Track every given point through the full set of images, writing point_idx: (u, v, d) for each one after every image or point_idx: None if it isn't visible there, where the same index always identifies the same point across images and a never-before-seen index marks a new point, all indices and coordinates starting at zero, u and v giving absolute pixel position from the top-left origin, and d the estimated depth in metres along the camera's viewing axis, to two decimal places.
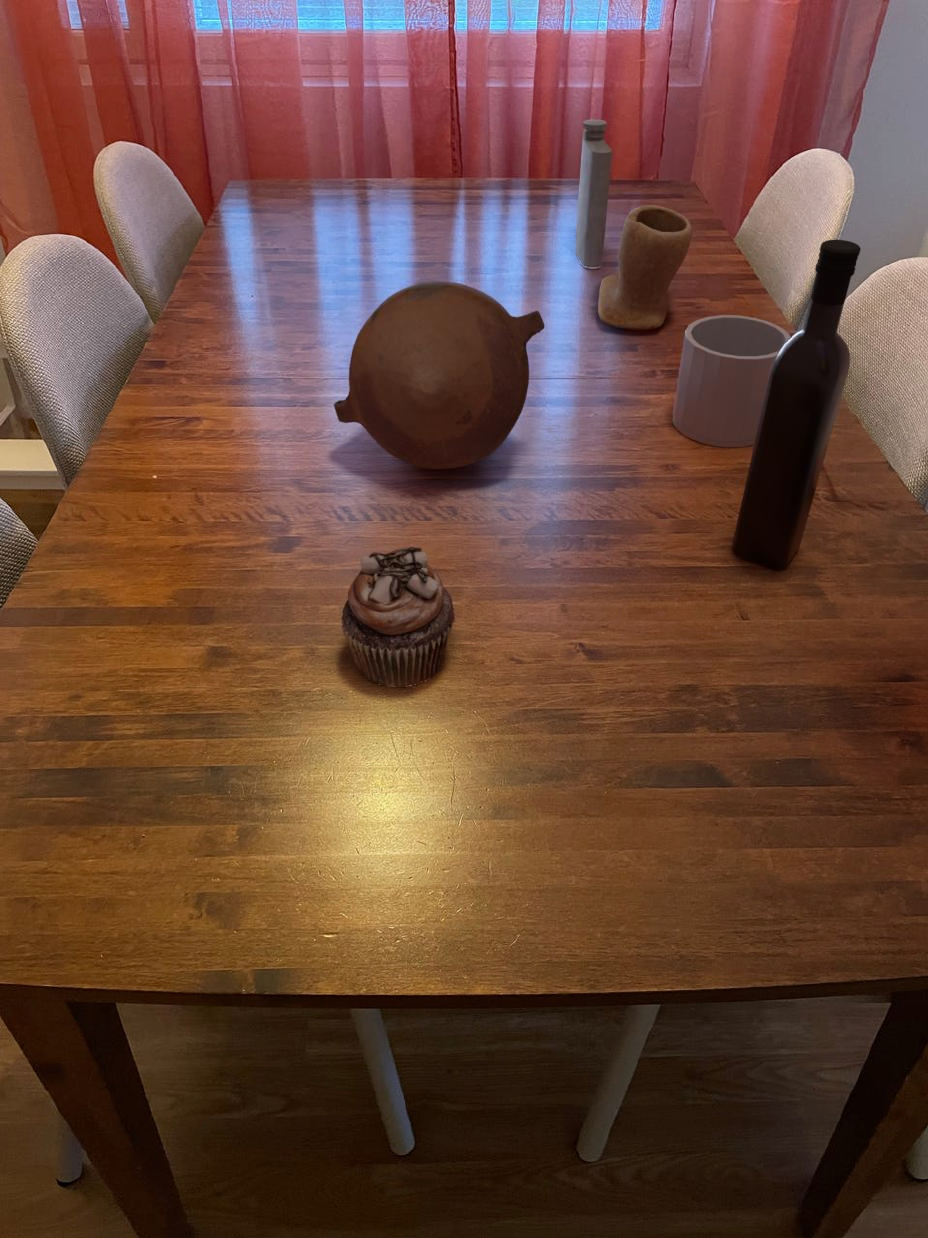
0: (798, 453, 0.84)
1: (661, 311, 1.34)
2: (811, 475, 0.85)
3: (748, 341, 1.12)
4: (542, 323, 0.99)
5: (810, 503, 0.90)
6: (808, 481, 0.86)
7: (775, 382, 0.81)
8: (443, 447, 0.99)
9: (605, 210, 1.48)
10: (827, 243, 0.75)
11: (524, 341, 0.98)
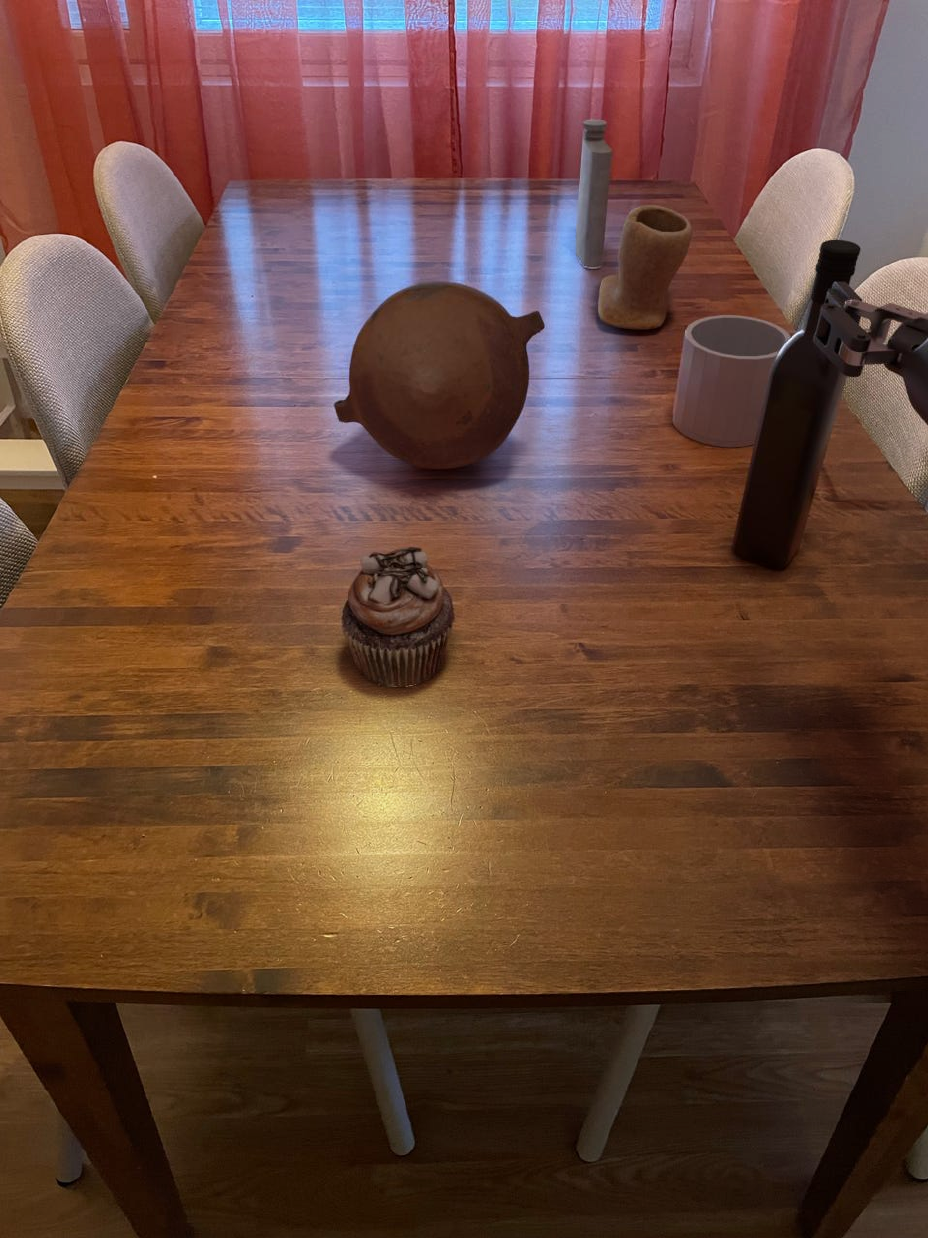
0: (798, 453, 0.84)
1: (661, 311, 1.34)
2: (811, 475, 0.85)
3: (748, 341, 1.12)
4: (542, 323, 0.99)
5: (810, 503, 0.90)
6: (808, 481, 0.86)
7: (775, 382, 0.81)
8: (443, 447, 0.99)
9: (605, 210, 1.48)
10: (827, 243, 0.75)
11: (524, 341, 0.98)
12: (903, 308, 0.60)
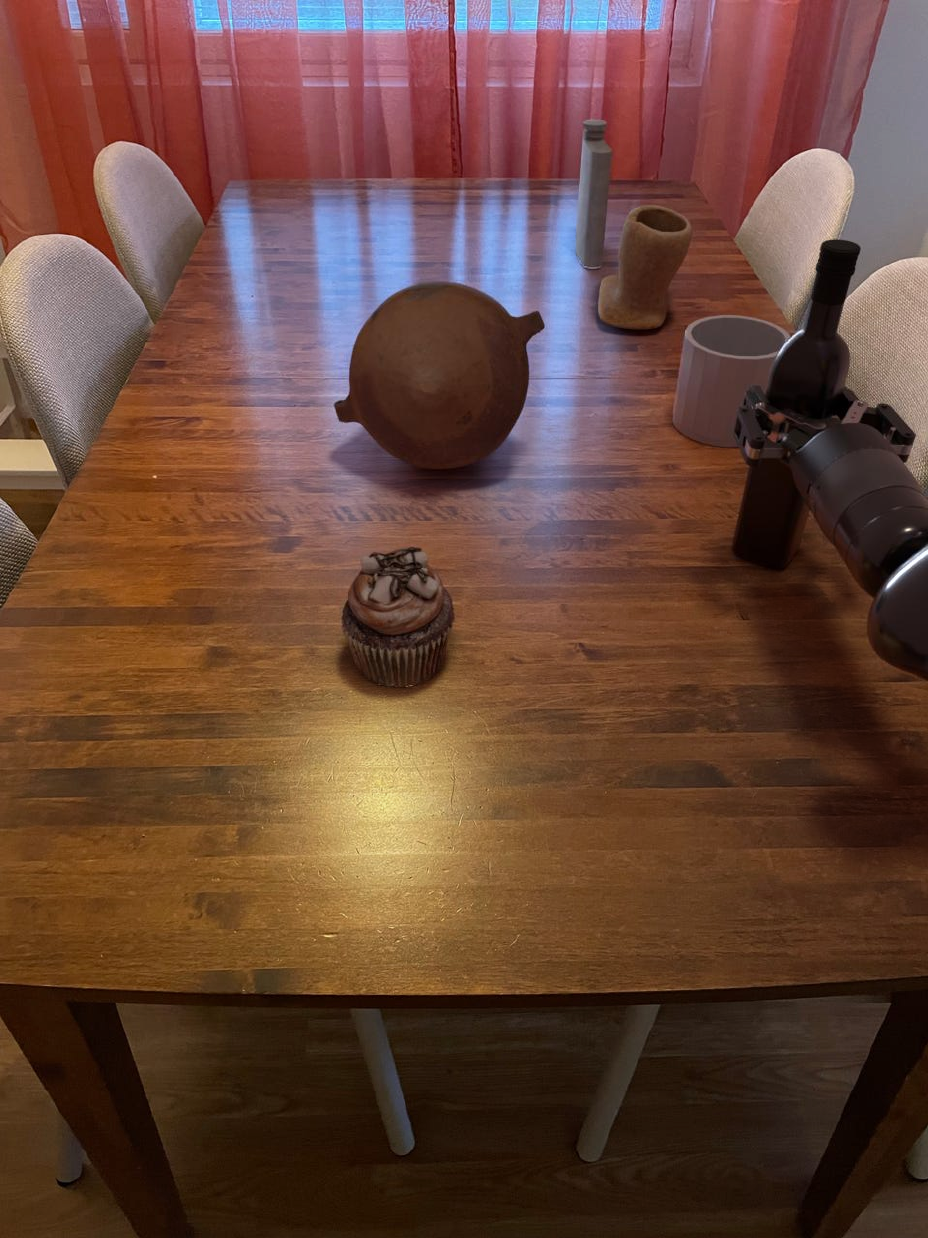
0: None
1: (661, 311, 1.34)
2: None
3: (748, 341, 1.12)
4: (542, 323, 0.99)
5: None
6: None
7: (775, 382, 0.81)
8: (443, 447, 0.99)
9: (605, 210, 1.48)
10: (827, 243, 0.75)
11: (524, 341, 0.98)
12: (796, 414, 0.79)
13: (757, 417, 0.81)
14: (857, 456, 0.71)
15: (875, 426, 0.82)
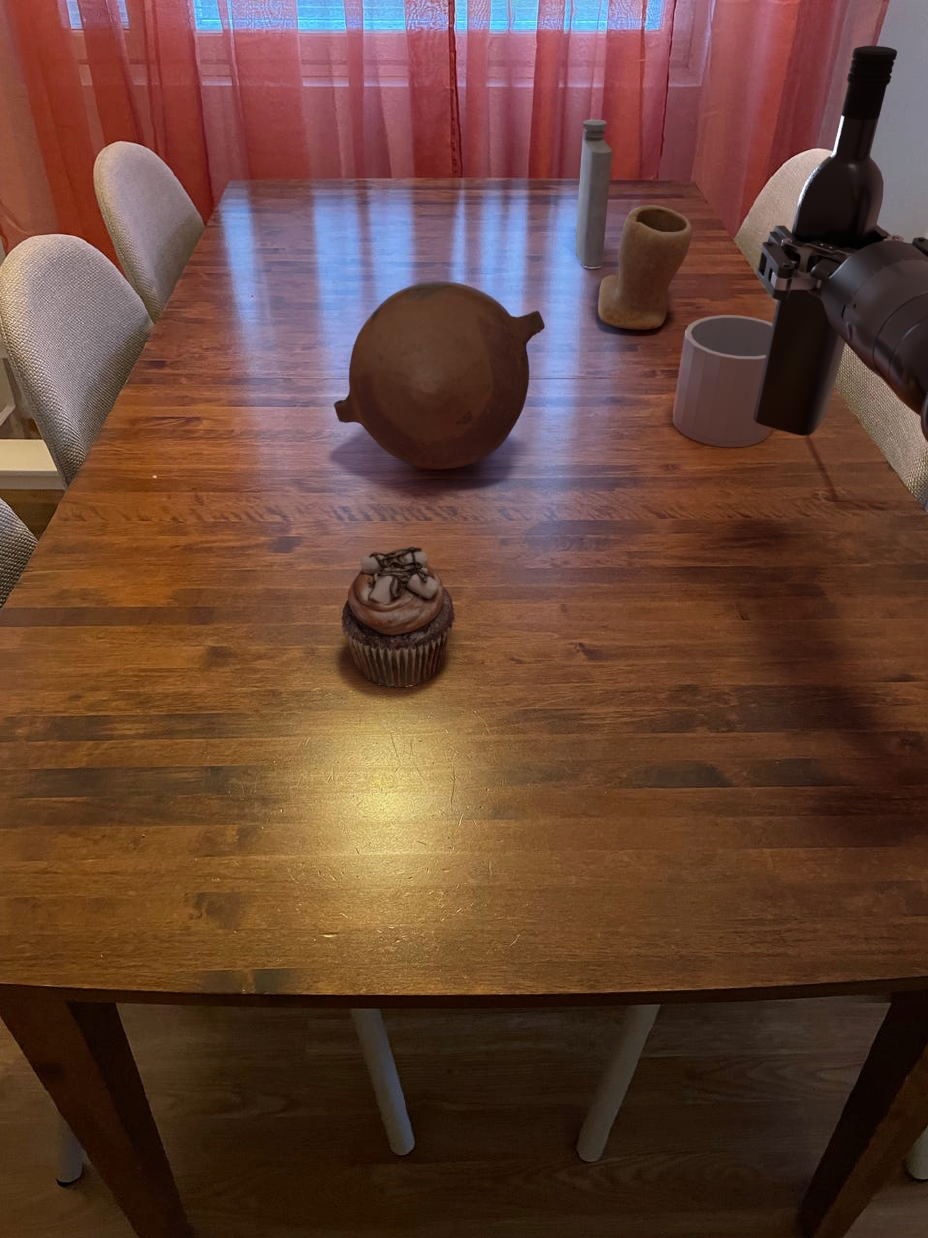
0: None
1: (661, 311, 1.34)
2: None
3: (748, 341, 1.12)
4: (542, 323, 0.99)
5: (839, 362, 0.84)
6: None
7: (803, 214, 0.75)
8: (443, 447, 0.99)
9: (605, 210, 1.48)
10: (860, 48, 0.69)
11: (524, 341, 0.98)
12: (826, 244, 0.73)
13: (783, 252, 0.75)
14: (898, 267, 0.64)
15: None
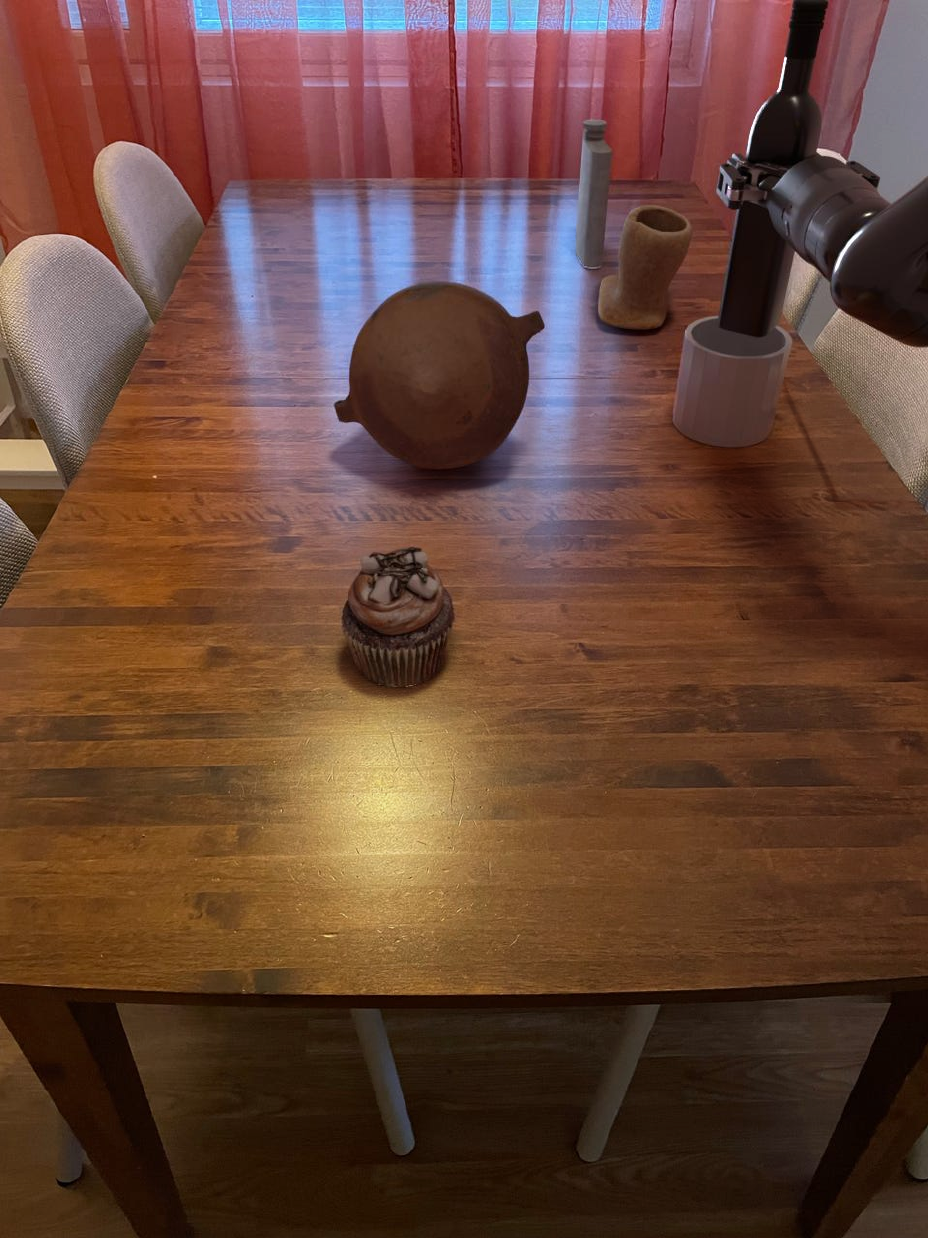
0: None
1: (661, 311, 1.34)
2: None
3: (748, 341, 1.12)
4: (542, 323, 0.99)
5: (788, 273, 0.99)
6: (785, 241, 0.94)
7: (754, 141, 0.90)
8: (443, 447, 0.99)
9: (605, 210, 1.48)
10: None
11: (524, 341, 0.98)
12: (772, 164, 0.88)
13: None
14: (825, 173, 0.79)
15: None
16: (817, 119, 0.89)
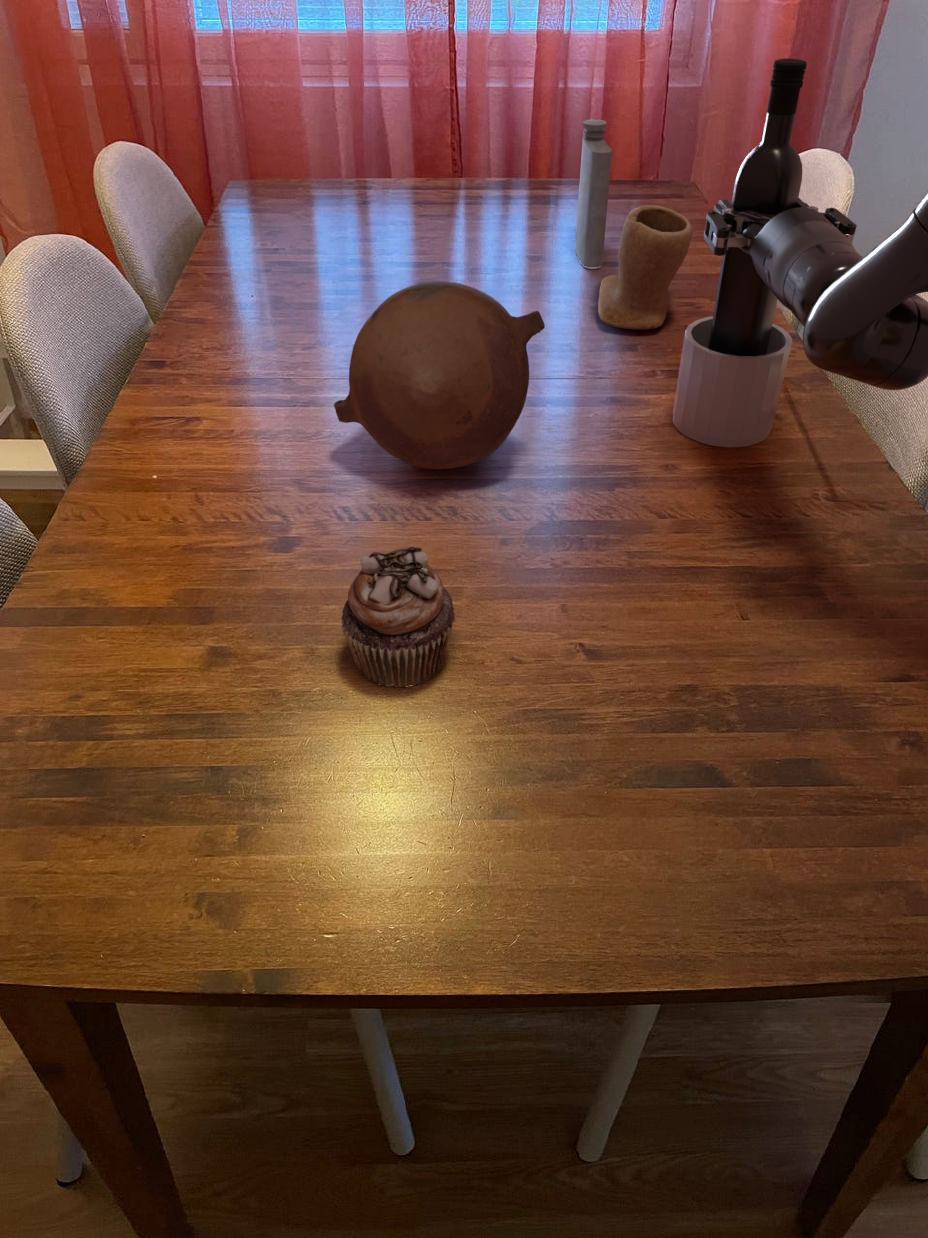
0: None
1: (661, 311, 1.34)
2: None
3: None
4: (542, 323, 0.99)
5: (773, 310, 1.05)
6: None
7: (739, 190, 0.96)
8: (443, 447, 0.99)
9: (605, 210, 1.48)
10: (779, 60, 0.90)
11: (524, 341, 0.98)
12: (756, 212, 0.94)
13: (724, 219, 0.96)
14: (802, 226, 0.85)
15: None
16: (798, 169, 0.95)
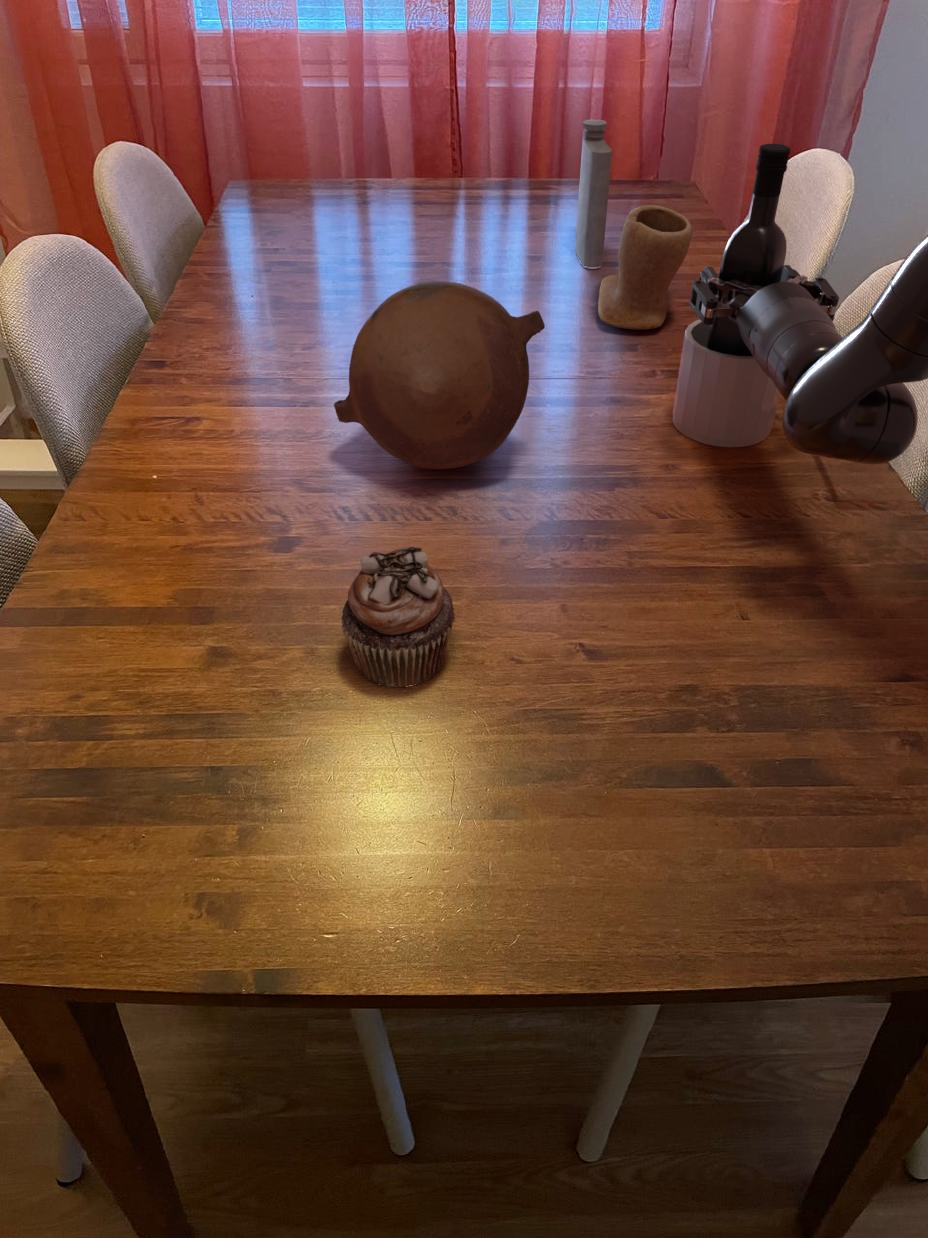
0: None
1: (661, 311, 1.34)
2: None
3: None
4: (542, 323, 0.99)
5: None
6: None
7: (726, 264, 1.01)
8: (443, 447, 0.99)
9: (605, 210, 1.48)
10: (764, 145, 0.95)
11: (524, 341, 0.98)
12: (741, 282, 0.98)
13: (709, 288, 1.00)
14: (785, 302, 0.90)
15: (813, 296, 1.01)
16: (782, 246, 0.99)
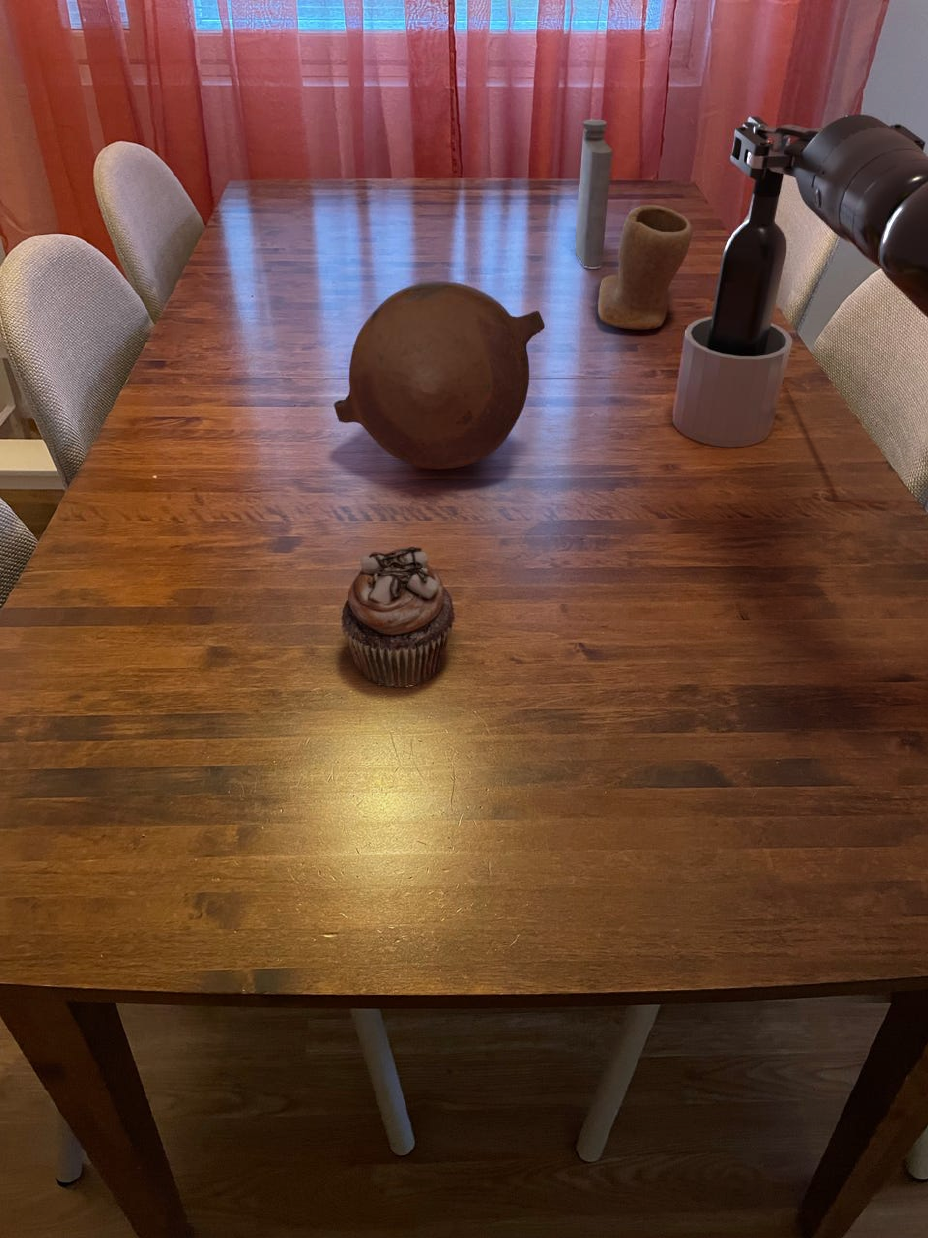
0: (746, 324, 1.03)
1: (661, 311, 1.34)
2: (757, 344, 1.05)
3: None
4: (542, 323, 0.99)
5: None
6: (755, 349, 1.05)
7: (726, 264, 1.01)
8: (443, 447, 0.99)
9: (605, 210, 1.48)
10: None
11: (524, 341, 0.98)
12: (797, 126, 0.77)
13: None
14: (864, 133, 0.68)
15: None
16: (782, 246, 0.99)
